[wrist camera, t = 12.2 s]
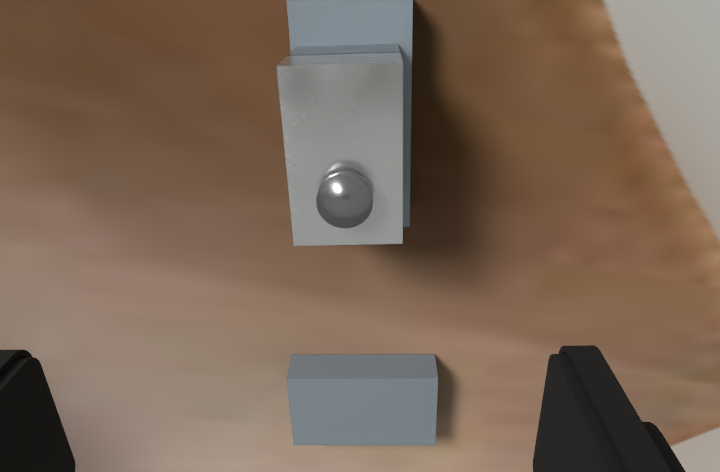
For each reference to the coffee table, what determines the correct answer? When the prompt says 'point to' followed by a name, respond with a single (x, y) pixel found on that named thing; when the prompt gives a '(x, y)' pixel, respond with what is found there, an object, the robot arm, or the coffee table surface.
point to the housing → (344, 143)
